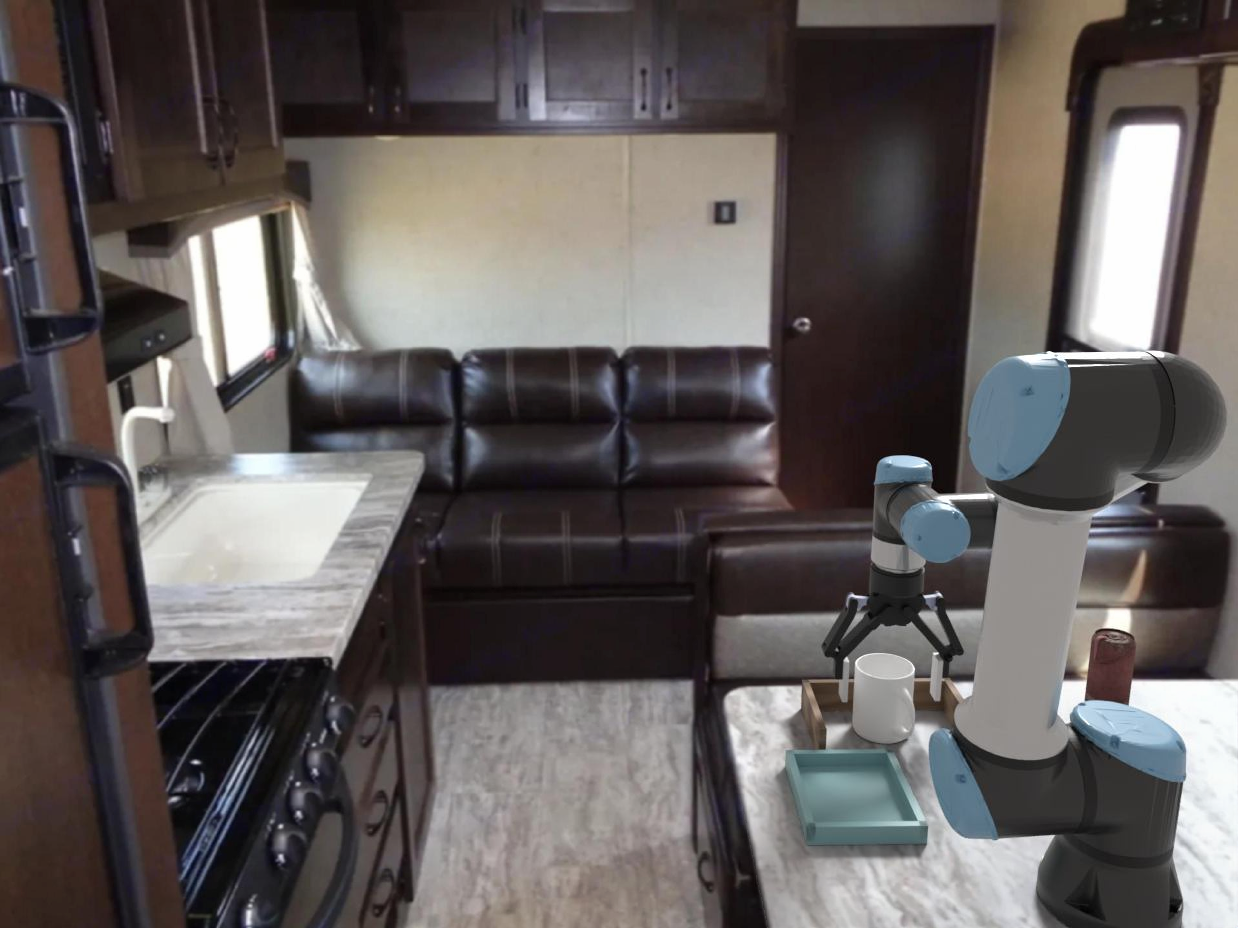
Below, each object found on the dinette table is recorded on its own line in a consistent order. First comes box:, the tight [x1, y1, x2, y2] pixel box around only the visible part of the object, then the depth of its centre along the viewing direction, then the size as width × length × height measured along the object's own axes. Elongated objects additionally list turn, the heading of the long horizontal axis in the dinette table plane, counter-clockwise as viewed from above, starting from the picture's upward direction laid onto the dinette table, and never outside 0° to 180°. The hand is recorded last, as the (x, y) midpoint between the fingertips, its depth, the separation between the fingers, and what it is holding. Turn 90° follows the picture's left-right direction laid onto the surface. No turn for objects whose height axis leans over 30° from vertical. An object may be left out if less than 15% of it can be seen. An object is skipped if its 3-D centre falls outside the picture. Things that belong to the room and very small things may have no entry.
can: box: [1083, 627, 1137, 706], centre depth 156 cm, size 6×6×14 cm
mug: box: [851, 652, 916, 745], centre depth 153 cm, size 9×12×11 cm
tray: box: [784, 748, 929, 846], centre depth 138 cm, size 18×15×3 cm
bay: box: [800, 677, 964, 750], centre depth 155 cm, size 15×23×5 cm, turn 90°
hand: (888, 697), depth 153 cm, fingers open, 13 cm apart
